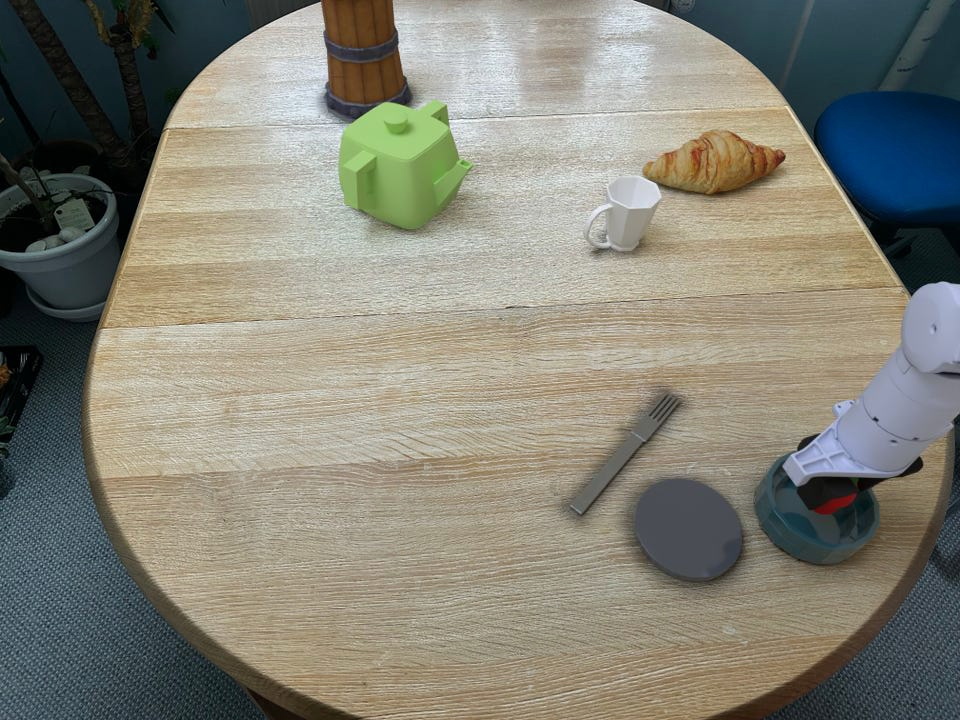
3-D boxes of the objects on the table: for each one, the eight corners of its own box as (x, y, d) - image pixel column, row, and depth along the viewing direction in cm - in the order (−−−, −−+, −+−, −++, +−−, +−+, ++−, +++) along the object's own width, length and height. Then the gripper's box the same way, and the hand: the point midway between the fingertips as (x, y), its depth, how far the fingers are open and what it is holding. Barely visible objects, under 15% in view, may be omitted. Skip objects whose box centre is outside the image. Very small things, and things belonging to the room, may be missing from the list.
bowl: (875, 512, 65) (896, 493, 62) (834, 588, 61) (854, 572, 58) (780, 453, 69) (795, 432, 66) (734, 520, 65) (747, 501, 62)
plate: (757, 525, 64) (761, 521, 64) (705, 604, 60) (709, 601, 59) (667, 464, 68) (670, 459, 68) (612, 534, 64) (614, 529, 63)
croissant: (641, 213, 98) (660, 189, 91) (629, 149, 100) (646, 121, 92) (778, 197, 100) (807, 172, 93) (763, 135, 102) (791, 106, 94)
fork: (582, 517, 65) (583, 515, 64) (567, 506, 65) (568, 503, 65) (679, 402, 73) (680, 400, 73) (665, 394, 74) (666, 391, 74)
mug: (297, 77, 114) (270, -53, 98) (373, 55, 119) (359, -72, 103) (348, 133, 104) (328, -2, 88) (429, 106, 109) (423, -26, 93)
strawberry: (849, 497, 62) (874, 471, 59) (832, 527, 61) (856, 503, 57) (808, 472, 64) (830, 445, 60) (790, 500, 62) (811, 475, 58)
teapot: (509, 192, 95) (514, 108, 85) (423, 273, 85) (418, 188, 75) (406, 148, 102) (400, 64, 91) (315, 218, 91) (296, 133, 81)
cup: (659, 248, 89) (674, 199, 82) (595, 272, 86) (606, 223, 79) (628, 217, 92) (640, 168, 86) (566, 239, 89) (574, 189, 83)
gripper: (940, 347, 55) (862, 436, 65) (789, 392, 52) (733, 478, 62) (1008, 416, 50) (913, 499, 61) (848, 469, 47) (777, 547, 58)
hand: (826, 493), depth 61 cm, fingers closed on strawberry, 4 cm apart
